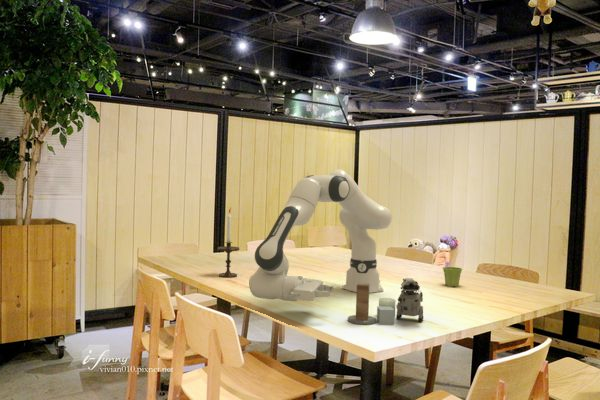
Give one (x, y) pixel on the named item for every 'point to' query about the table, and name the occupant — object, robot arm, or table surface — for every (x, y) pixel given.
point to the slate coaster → (362, 322)
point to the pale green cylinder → (387, 303)
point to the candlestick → (228, 250)
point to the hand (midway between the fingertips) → (331, 291)
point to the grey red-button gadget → (410, 300)
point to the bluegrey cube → (385, 315)
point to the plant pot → (452, 276)
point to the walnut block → (362, 301)
